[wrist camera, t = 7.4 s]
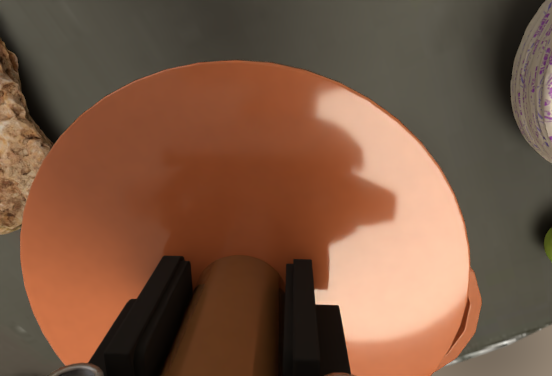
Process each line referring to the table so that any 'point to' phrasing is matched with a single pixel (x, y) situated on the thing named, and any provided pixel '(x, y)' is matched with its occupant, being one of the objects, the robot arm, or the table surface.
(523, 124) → the paper bowls
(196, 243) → the lid
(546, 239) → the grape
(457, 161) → the table surface
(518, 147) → the table surface
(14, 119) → the rock
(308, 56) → the table surface
